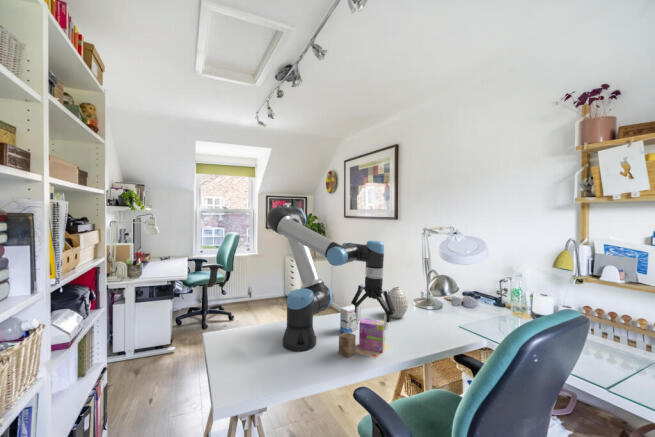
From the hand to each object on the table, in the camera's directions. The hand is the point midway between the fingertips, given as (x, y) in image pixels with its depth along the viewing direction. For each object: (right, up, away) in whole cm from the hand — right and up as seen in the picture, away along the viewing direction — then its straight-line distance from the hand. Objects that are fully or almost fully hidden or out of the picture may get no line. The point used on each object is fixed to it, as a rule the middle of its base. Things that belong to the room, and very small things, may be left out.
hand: (371, 325), depth 131 cm
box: (0, -10, 0) cm, 10 cm away
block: (-11, -10, -5) cm, 16 cm away
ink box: (-8, -10, +19) cm, 23 cm away
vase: (+20, -10, +40) cm, 46 cm away
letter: (0, -10, 0) cm, 10 cm away
